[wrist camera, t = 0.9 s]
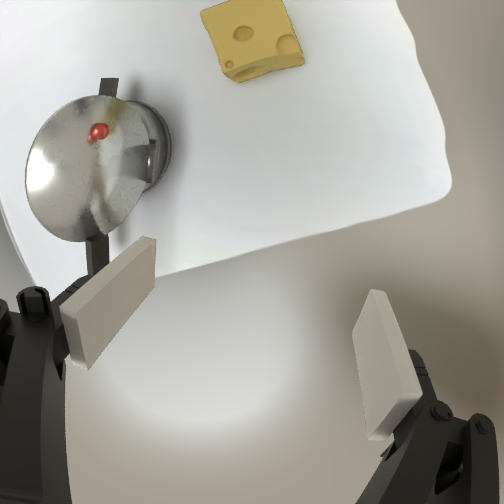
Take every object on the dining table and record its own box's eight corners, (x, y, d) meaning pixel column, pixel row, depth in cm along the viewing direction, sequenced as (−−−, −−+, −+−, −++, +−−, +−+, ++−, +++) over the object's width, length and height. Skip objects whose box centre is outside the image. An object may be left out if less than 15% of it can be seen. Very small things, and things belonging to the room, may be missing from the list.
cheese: (304, 65, 39) (306, 49, 29) (235, 86, 41) (218, 77, 32) (281, 7, 35) (275, -19, 26) (213, 30, 38) (192, 9, 29)
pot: (97, 83, 43) (64, 80, 35) (188, 84, 42) (164, 77, 34) (88, 236, 55) (61, 254, 47) (167, 256, 54) (146, 280, 46)
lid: (27, 96, 21) (35, 95, 20) (158, 98, 35) (171, 99, 34) (49, 341, 33) (57, 352, 32) (144, 294, 47) (154, 300, 46)
